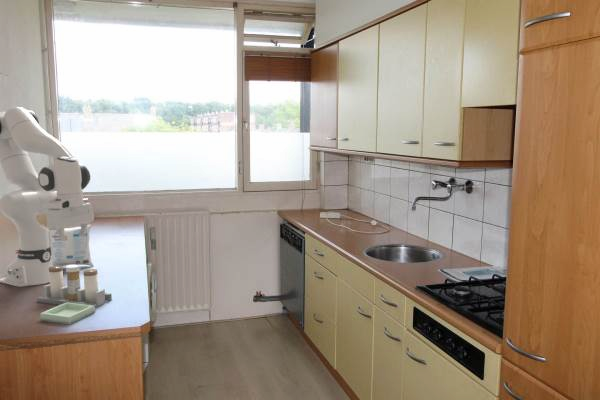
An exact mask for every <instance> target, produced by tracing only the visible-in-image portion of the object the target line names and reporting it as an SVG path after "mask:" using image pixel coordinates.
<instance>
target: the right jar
mask: <svg viewBox="0 0 600 400" xmlns="http://www.w3.org/2000/svg"><path fill="white" fill-rule="evenodd" d="M98 273H99V272H98V269H95V268H91V269H90V268H89V269H85V270H83V271H82V274H83V284H84V287H85V302H86V303H94V304H95V305H96V303H95V292H97V291H99V282H98V281H99V280H98ZM84 287H83V288H84Z"/></svg>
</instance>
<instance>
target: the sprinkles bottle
mask: <svg viewBox="0 0 600 400" xmlns="http://www.w3.org/2000/svg"><path fill="white" fill-rule="evenodd" d="M65 272H66V284H67V285H66V286H67V287H68V300H71V301H78V297H77V290H79V289H81V279H80V265H65Z"/></svg>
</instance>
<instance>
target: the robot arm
mask: <svg viewBox="0 0 600 400" xmlns="http://www.w3.org/2000/svg"><path fill="white" fill-rule="evenodd" d="M29 153H35V154H40V155H45V156H49V157H52V158H53V159H54V161H53V163H51V164H49V165H46V166H44V167H42V168H41V169H40V171H39V173H38V172H37V171H36V169H35V167H34V164H33V162H32V160H31V157H30V154H29ZM0 165H1V168H2V171H3V173H4V175H5V177H6V180H7V182H8V183H10V184H12V185H14V186H17V187H18V188H19V189H20V190H13V191H11V192H8V193H5V194H4V195H2V196H1V198H0V212H1V213H2V215H3V216H5V217H6V218H8V219H9V220H11V222H12V223H13V224H14V226H15V227H16V230H17V232H18V234H17V235H18V239H19V241H18V242H19V248H20V249H18V250H16V251H15V254H17V256H16V258H15V259H14V260H13V261H12V262H11V263H10V264H8V265H7V266H6V268H5V276H4V277H2V278H0V283H2V284H7V285H10V286H14V287H18V288H21V287H28V286H29V287H30V286H37V285H44V284H48V283H50V278H49V267H51V266H53V264H52V259H51V251H52V248H51V245H50V234H49V231H48V229H47V227H48V228H49V230H57V233H58V234H59V236H60V240H61V241H66V240H67V236H65V234H64V229H65V228H67V229H69V228H74V227H78V226H79V227H81V230H80V231H79V236H85V235H86V234H85V231H86V228H87V225H88V224H89V223H90V224H91V223H93V222H94V220H95V213H94V208H93V206H92V201H91V200H90V199H89V198H86V197H85V198H84V194H83V193H84V192H83V190H84V189H85V188H86V187H87V186H88V185H89V184H90V182H91V173H90V170H89V169H88V167H86V166H85V165H84V164H83V163H81V162H80V161H79V159H78V158H76V157H75V156H74V155H73V153H72V152H70V150H69V149H68V148H67V147H66V145H64V144H63V143H62V142H61V141H60V140H59V139H58V138H56V137H55V136H54V135H51V134H49V133H48V132H47V131H46V130H45V129H43V128H42V127H41V126H40V121H39V118H38V116H37V114H36V113H35V112H34V110H30V109H27V108H24V107H20V106H13V107H11V108H9V109H7V110H5V111H0ZM44 214H46V226H45V225H44V224H41V223H39V221H38V219H37V216H38V215H39V216H40V215H44Z"/></svg>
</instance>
